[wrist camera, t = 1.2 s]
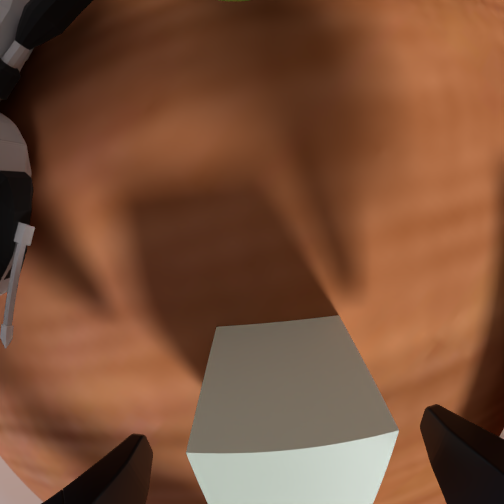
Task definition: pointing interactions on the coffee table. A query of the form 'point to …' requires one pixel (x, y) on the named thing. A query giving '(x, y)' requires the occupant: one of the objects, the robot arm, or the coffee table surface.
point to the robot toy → (10, 139)
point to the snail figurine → (233, 0)
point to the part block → (289, 417)
